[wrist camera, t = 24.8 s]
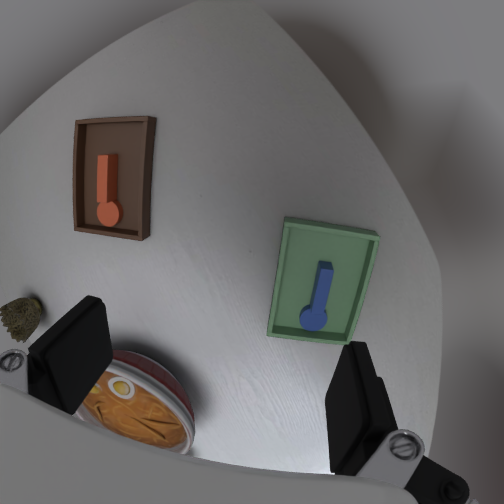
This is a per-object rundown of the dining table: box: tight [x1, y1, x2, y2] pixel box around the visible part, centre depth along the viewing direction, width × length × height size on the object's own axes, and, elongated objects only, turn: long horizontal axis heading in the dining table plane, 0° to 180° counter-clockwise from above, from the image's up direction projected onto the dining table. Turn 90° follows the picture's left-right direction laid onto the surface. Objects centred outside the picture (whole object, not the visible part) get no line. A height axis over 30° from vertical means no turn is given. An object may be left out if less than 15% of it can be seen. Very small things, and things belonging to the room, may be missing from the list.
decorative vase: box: [0, 298, 43, 343], centre depth 42 cm, size 8×7×8 cm
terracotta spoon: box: [97, 154, 123, 227], centre depth 35 cm, size 10×4×3 cm, turn 174°
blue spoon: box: [299, 261, 334, 331], centre depth 36 cm, size 10×4×3 cm, turn 174°
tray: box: [73, 116, 156, 241], centre depth 35 cm, size 15×11×2 cm
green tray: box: [267, 217, 380, 345], centre depth 36 cm, size 15×11×2 cm
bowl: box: [75, 350, 195, 454], centre depth 42 cm, size 23×23×10 cm
